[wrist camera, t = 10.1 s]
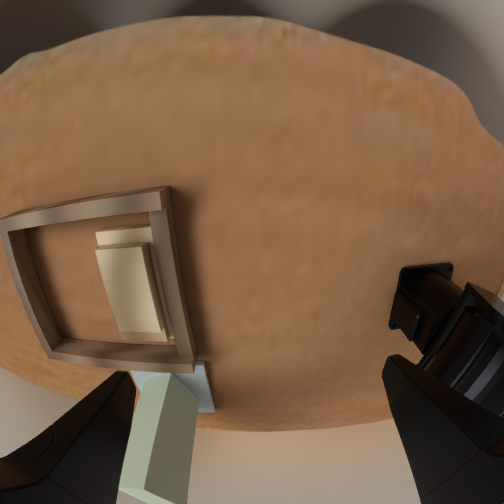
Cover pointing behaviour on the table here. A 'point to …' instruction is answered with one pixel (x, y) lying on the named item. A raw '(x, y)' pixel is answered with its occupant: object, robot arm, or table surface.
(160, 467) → the tall mint carton
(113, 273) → the offcut stack
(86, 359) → the brown wooden frame
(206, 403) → the tile
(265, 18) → the table surface
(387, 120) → the table surface
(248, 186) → the table surface
